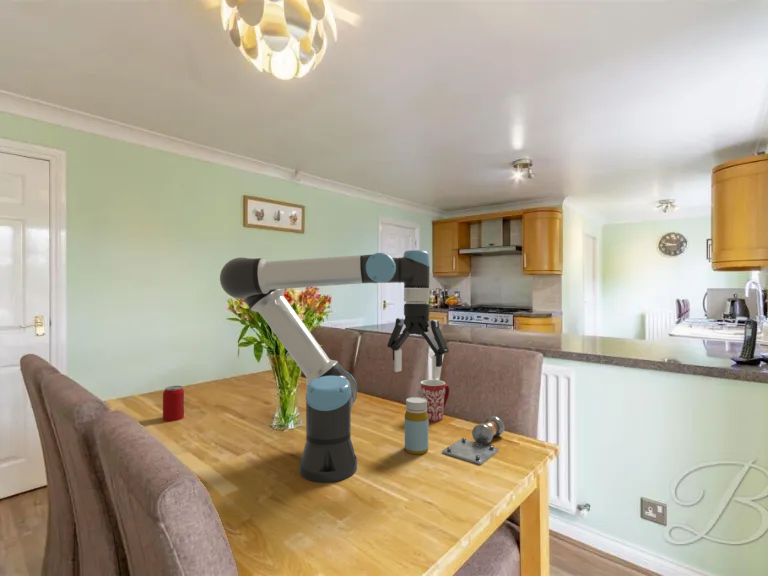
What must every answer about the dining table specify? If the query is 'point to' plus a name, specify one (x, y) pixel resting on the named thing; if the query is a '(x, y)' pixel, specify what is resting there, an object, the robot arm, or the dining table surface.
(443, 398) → the mug
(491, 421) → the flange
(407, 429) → the bottle
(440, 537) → the dining table surface
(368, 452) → the dining table surface
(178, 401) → the beverage can
